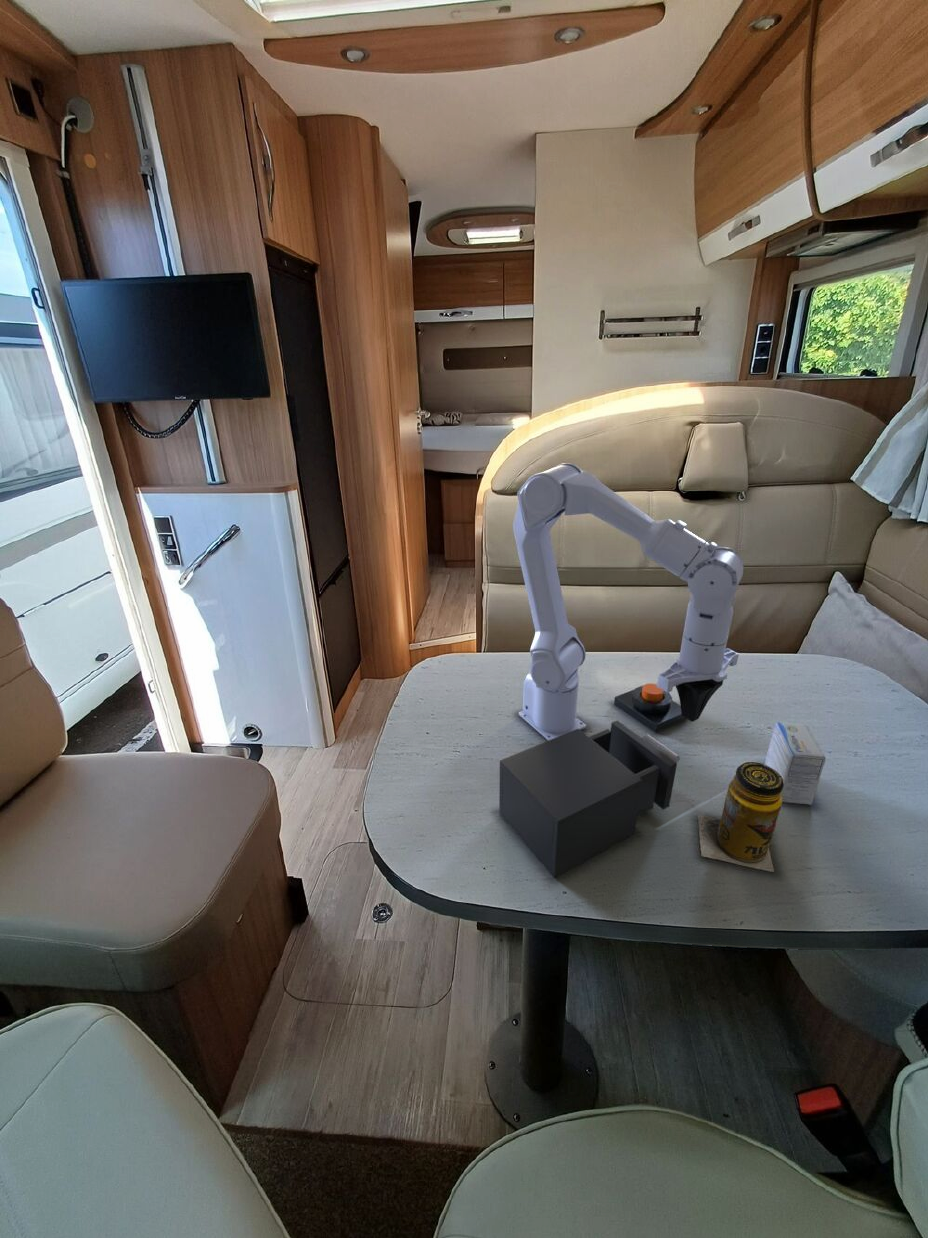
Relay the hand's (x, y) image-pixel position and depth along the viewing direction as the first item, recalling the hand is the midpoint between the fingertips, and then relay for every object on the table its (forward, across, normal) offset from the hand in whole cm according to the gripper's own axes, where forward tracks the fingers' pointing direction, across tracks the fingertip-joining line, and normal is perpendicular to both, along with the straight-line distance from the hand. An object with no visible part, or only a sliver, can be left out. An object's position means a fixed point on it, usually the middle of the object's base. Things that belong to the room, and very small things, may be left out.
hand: (689, 716), depth 83 cm
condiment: (+10, -6, -14) cm, 18 cm away
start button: (+6, +7, +13) cm, 16 cm away
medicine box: (+10, +10, -11) cm, 18 cm away
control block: (+9, +7, +13) cm, 18 cm away
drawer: (+9, -13, 0) cm, 16 cm away
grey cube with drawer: (+9, -23, 0) cm, 25 cm away
